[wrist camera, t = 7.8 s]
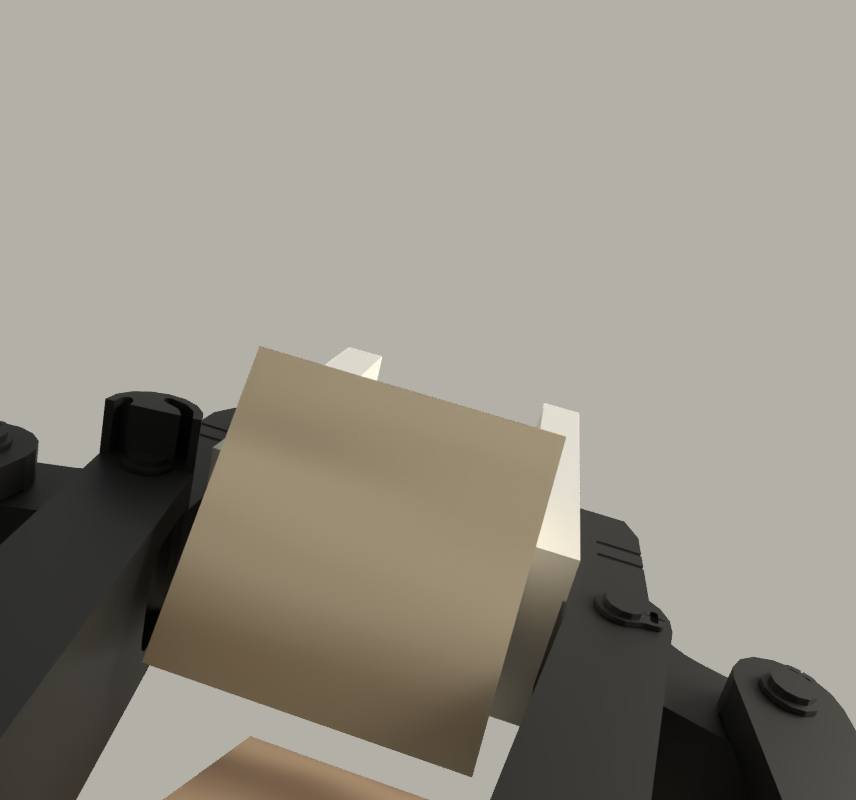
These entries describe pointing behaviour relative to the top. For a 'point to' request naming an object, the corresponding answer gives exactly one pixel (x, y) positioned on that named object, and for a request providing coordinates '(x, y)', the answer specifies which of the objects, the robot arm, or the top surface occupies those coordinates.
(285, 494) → the light wooden bar
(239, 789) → the stand
